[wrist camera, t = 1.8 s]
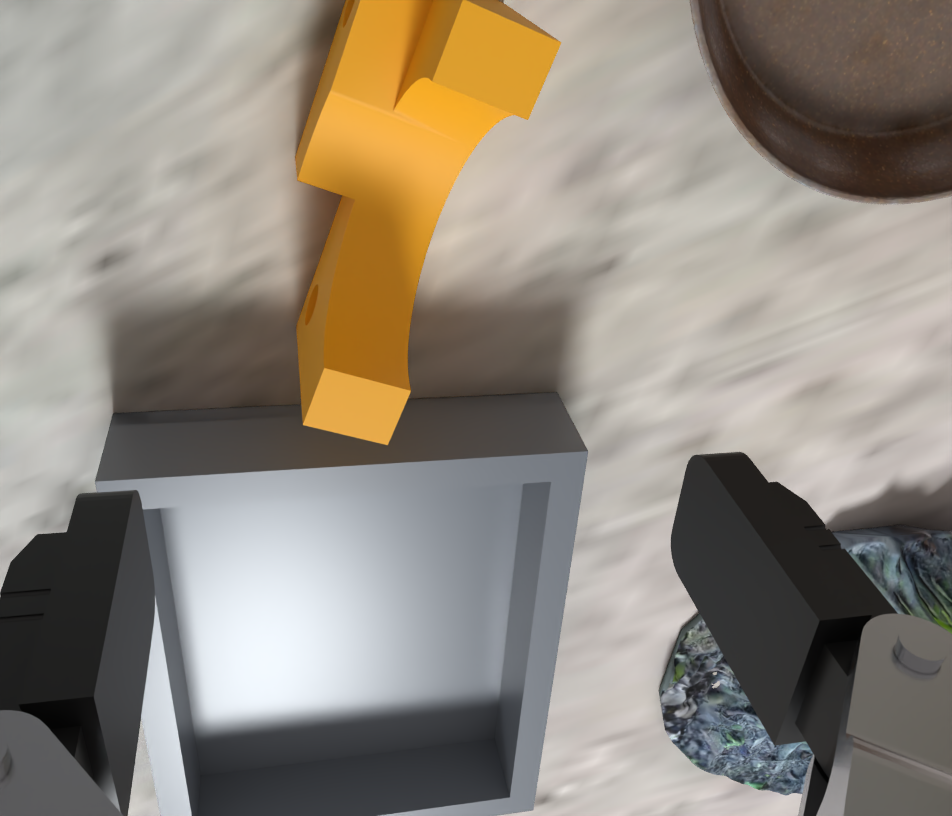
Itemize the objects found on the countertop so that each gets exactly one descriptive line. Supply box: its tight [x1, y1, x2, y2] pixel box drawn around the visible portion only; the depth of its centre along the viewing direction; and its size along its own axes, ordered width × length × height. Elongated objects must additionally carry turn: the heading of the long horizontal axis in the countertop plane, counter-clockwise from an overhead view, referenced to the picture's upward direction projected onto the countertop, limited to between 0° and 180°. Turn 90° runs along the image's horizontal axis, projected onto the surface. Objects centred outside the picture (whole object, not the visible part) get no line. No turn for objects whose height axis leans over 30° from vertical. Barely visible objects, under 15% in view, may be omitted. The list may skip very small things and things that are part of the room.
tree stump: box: [659, 525, 952, 795], centre depth 41 cm, size 18×20×18 cm
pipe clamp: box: [295, 0, 561, 445], centre depth 26 cm, size 12×4×6 cm, turn 157°
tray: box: [95, 392, 588, 816], centre depth 36 cm, size 16×20×4 cm
